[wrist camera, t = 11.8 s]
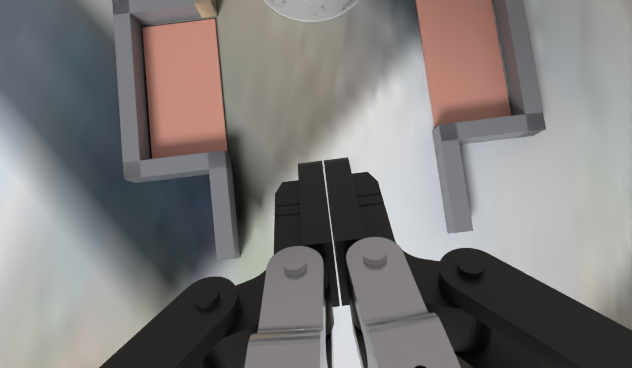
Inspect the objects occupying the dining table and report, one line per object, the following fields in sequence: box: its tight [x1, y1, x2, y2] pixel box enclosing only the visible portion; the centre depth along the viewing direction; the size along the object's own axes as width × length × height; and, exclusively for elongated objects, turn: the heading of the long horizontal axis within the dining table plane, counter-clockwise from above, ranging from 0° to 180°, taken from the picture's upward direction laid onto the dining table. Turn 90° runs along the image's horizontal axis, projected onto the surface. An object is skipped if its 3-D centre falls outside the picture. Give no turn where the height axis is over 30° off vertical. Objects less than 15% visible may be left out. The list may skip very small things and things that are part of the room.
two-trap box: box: [112, 0, 546, 260], centre depth 34 cm, size 29×29×2 cm
